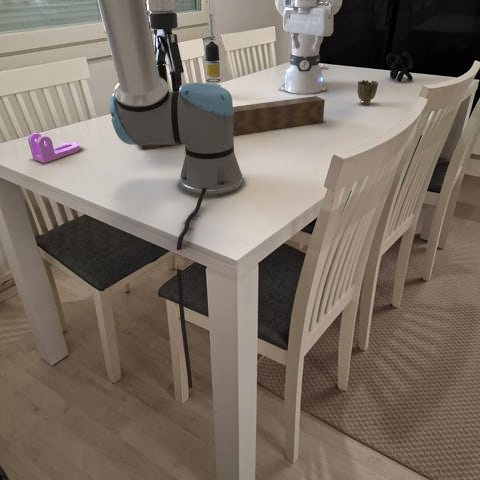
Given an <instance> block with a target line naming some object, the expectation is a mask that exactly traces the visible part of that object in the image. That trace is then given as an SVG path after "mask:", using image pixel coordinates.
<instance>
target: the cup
mask: <svg viewBox="0 0 480 480" xmlns="http://www.w3.org/2000/svg"><path fill="white" fill-rule="evenodd" d="M378 86H379V82H378V81H377V80H375V81H374V80H371V81H370V82H369V79H367V80H364V79H362V80H359V81H357V97H358V99H359V101H360V104H361V105H364V106H367V105H370V104H371V101H372V100H374V99H375V97H376V94H377V90H378Z"/></svg>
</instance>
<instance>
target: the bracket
mask: <svg viewBox="0 0 480 480" xmlns="http://www.w3.org/2000/svg"><path fill="white" fill-rule="evenodd" d="M27 141H28V142H27V143H28V145H29V149H30V153H31V157H32V159H33V160H35V161H38V162H40V163H42V164H47V163H49V162H51V161H52V162H53V161H55V160H58V159H60V158H63V157H66V156H69V155H71V154H75V153H77V152H79V151H80V150H81V148H80V147H81V146H80V144H79V142H75V141H73V142H72V141H71V142H65V143H61V144H59V145H55V146H54V145H53V141H52V139H51V138H50V137H49V136H48V135H42V134H40V133H38V132H32V133H30V134H29V135H28V137H27Z"/></svg>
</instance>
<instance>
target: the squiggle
mask: <svg viewBox="0 0 480 480" xmlns="http://www.w3.org/2000/svg"><path fill="white" fill-rule="evenodd" d="M401 57H402V59H401ZM391 59H392V60H391ZM393 60H394V61H393ZM385 61H386V64H387V67H390V68H391V70H390V72H389V78H390V79H391V80H395V79H396V81H397V82H399V83H400V82H402V81H403V79H404V76H406V78H407V80H408V81H412V80H413V79H414V77H413V75H412V74H411V73H410V72H409V71H410V70H412V69H413V68H414V64H413V61H412V57H411V54H410V53H409V52H408V51H403V53H402V54H401V55H396V54H394V53H392V52H390V53H387V55H386V57H385ZM406 62H407V65H408V66H407V67H405V66H404V65H405V64H406ZM400 70H401V71H400Z"/></svg>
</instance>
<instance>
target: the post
mask: <svg viewBox="0 0 480 480" xmlns="http://www.w3.org/2000/svg"><path fill="white" fill-rule="evenodd" d="M325 104H326V100H325V99H324V98H322V97H319V96H317V95H314V96H312V95H311V96H306V97H299V98H291V99H281V100H274V101H268V102H267V101H266V102H260V103H251V104H245V105H244V104H243V105H236V106H233V110H234V115H233V133H234V137H235V136H241V135H246V134H248V135H249V134H253V133H254V134H255V133H260V132H267V131H274V130H280V129H287V128H293V127H299V126H306V125H313V124H314V125H315V124H319V123H323V122H324V114H325ZM175 145H176V144H160V145H143V146H142V145H139V146H140V148H141V150H148V149H155V148H161V147H162V148H163V147H167V146H168V147H169V146H175Z"/></svg>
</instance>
